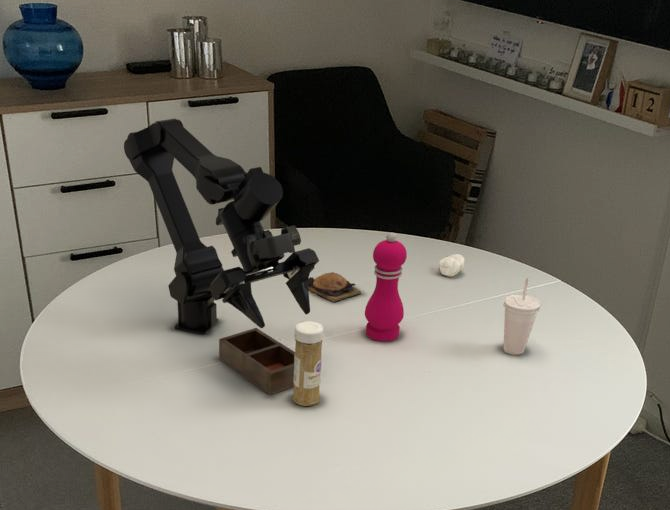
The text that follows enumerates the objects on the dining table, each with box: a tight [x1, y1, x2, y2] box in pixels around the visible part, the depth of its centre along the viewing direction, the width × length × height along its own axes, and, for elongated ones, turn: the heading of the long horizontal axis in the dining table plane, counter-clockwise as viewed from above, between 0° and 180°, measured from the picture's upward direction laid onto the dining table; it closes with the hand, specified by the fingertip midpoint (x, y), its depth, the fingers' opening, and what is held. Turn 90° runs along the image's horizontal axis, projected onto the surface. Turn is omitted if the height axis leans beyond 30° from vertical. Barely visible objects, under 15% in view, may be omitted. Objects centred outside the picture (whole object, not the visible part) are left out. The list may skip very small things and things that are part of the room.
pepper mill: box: [364, 232, 408, 342], centre depth 162 cm, size 7×7×20 cm
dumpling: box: [438, 253, 466, 278], centre depth 192 cm, size 7×5×4 cm
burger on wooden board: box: [308, 271, 362, 303], centre depth 183 cm, size 11×8×4 cm
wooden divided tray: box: [218, 327, 295, 396], centre depth 154 cm, size 15×8×4 cm, turn 35°
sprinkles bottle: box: [292, 321, 325, 407], centre depth 143 cm, size 5×5×13 cm
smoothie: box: [502, 276, 542, 356], centre depth 158 cm, size 6×6×14 cm
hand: (286, 320), depth 144 cm, fingers open, 9 cm apart
